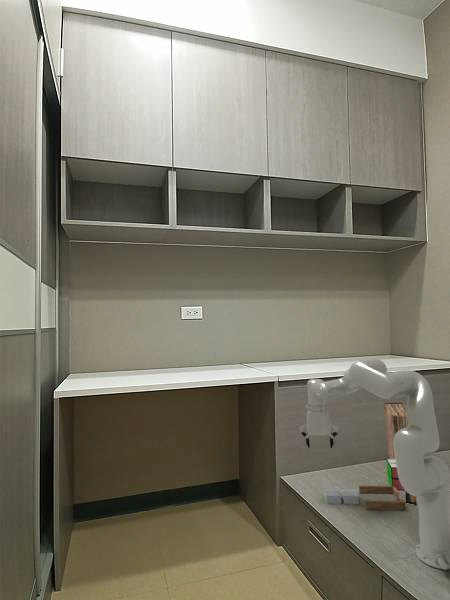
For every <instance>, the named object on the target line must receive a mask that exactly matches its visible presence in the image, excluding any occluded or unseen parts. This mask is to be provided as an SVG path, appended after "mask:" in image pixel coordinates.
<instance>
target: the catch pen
mask: <svg viewBox="0 0 450 600" xmlns="http://www.w3.org/2000/svg"><path fill="white" fill-rule="evenodd" d="M358 489H359V494H367V495H368V494H370V495H371V494H375V495H379V494H381V495H383V494H384V495H386V494H387V495H389V494H390V495H393V496H394V497H395V499H396V500H395V501H393V500H365V509H366V510H373V511H375V510H376V511H377V510H381V511H383V510H384V511H406V509H407V508H406V501H405V500H404V499H403V497H402V495H401V494H400V492H399V490H397V489H396V488H395V486H391V485H358Z"/></svg>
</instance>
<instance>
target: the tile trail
mask: <svg viewBox="0 0 450 600" xmlns="http://www.w3.org/2000/svg"><path fill="white" fill-rule="evenodd" d="M323 493H324V494H323V495H324V499H325V502H326V504H330V505H331V504H332V505H334V504H335V505H336V504H337V505H338V504H342V498H341V493H340V490H339V488H336V489H335V488H329V489H328V488H327V489H326V488H325V489H323Z"/></svg>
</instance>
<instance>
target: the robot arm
mask: <svg viewBox="0 0 450 600" xmlns="http://www.w3.org/2000/svg"><path fill="white" fill-rule="evenodd" d="M361 389H364V390H366V391H368V392H370V393H371V394H373V395H375V396H377V397H379V398H381V399H382V400H383V399H384V400H394V399H398V398H402V397H407V402H406V405H405V406H406V414H407V420H408V426H407V427H405V428H403V429H400V430H399V431H398V432H397V433H396V434H395V436H394V441H393V447H394V454H395V460H396V467H397V473H398V478H399V481H400V483H401V485H402V487H403V488H404V490H403V491H404V492H405V491H406V492H407V493H409V494H410V495H413V496H417V497H416V500H417V506H416V510H417V512H416V513H417V522H418V523H417V524H418V534H419V535H418V536H419V543H418V544H417V545H416V547H415V548H414V549H415V554H416V557H417V558H418V559H419V560H420V561H421V562H423V563H424V564H426V565H428V566H429V567H433V568H436V569H440V570H443V571H446V570H450V468H449V466H448V465H447V464H446V462H445V461H444V460H443V459H442V458H440V457H439V456H434V455H431V454H433V453H434V452H436V451H437V450H438V449H439V448H440V443H441V441H440V434H439V429H438V424H437V423H438V422H437V418H436V413H435V408H434V397H433V392H432V388H431V385H430V383H429V382H428V380H427V378H425V377H424V375H421V374H420V373H418V372H416V371H414V370H408V369H407V370H398V371H397V370H396V371H394V372H389V373H388V368H387V365H386V364H385V362H384V361H382V360H381V359H379V358H369V359H362V360H357V361H355V362H353V363H352V364H351V365H350V367H349V368H348V369H346V370H345V371H344V373H343V376H342V377H340V378H337V379H331V380H327V381H324V380H323V379H320V378H312V379H309V380H307V400H308V401H307V402H308V404H305V409H308V410H307V413H306V423H305V424H302V425H301V426H299V427H298V430H299V432H300V434H301V435H302V437H304V439H305V445H306V446H307V448H308V449H310V445H311V444H310V436H329V447H330V449H333V446H334V445H335V443H334V442H335V441H334V439H335V437H336V436H337V435H338V433H339V430H340V428H339V426H337V425H334V424H333V423H331V418H330V413H329V410H328V409H327V401H329V400H334V399H338V398H341V397H345V396H348V395H351V394H354V393H355V392H357V391H359V390H361ZM304 429H306V432H305V431H304ZM332 429H333V430H334V431H333V432H332Z"/></svg>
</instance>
